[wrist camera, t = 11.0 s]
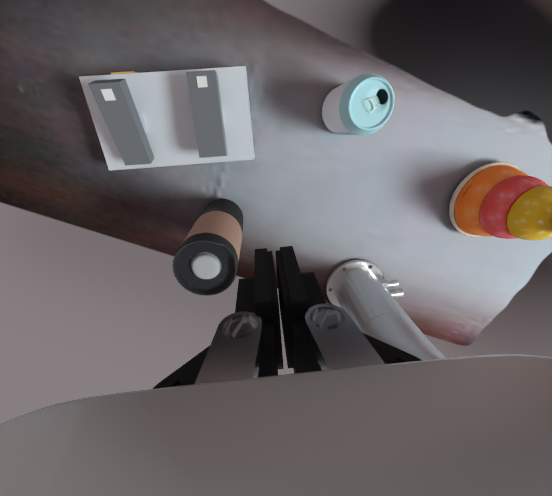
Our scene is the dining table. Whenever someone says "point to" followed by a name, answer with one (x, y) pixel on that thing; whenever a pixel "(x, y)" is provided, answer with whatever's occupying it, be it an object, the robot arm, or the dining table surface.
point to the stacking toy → (502, 204)
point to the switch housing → (177, 116)
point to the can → (359, 105)
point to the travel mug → (211, 250)
